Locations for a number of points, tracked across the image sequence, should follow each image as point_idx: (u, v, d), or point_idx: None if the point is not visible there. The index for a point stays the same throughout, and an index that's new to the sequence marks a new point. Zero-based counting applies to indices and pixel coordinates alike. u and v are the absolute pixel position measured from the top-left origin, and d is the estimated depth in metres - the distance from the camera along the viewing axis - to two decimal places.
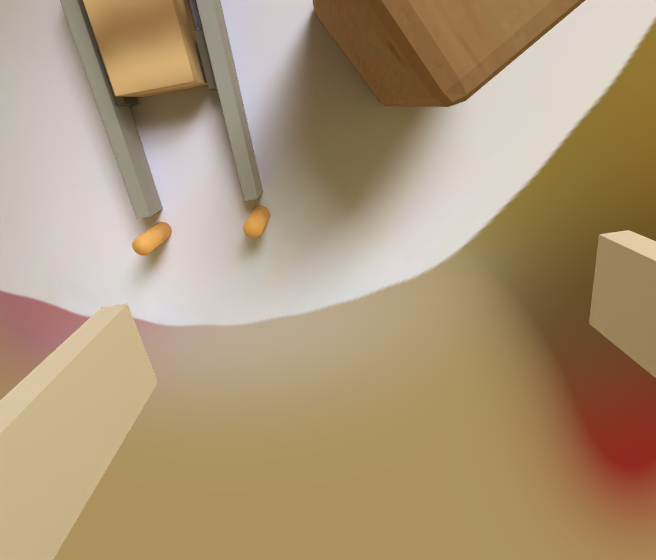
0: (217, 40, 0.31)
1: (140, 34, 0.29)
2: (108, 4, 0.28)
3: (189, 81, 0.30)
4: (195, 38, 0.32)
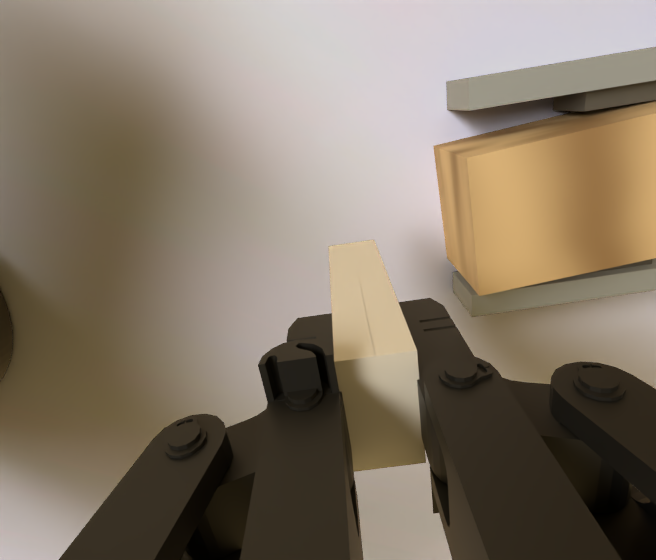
0: (620, 62, 0.16)
1: (611, 197, 0.16)
2: (558, 244, 0.17)
3: None
4: (565, 117, 0.19)
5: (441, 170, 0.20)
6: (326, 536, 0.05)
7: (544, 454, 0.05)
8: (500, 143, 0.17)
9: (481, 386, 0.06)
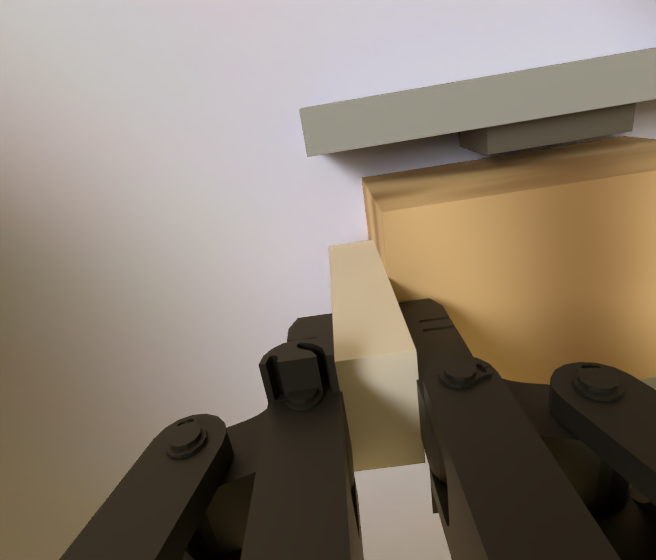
0: (531, 83, 0.10)
1: (605, 287, 0.11)
2: (521, 348, 0.11)
3: None
4: (547, 155, 0.13)
5: (368, 215, 0.14)
6: (326, 536, 0.05)
7: (543, 454, 0.05)
8: (443, 189, 0.11)
9: (481, 386, 0.06)
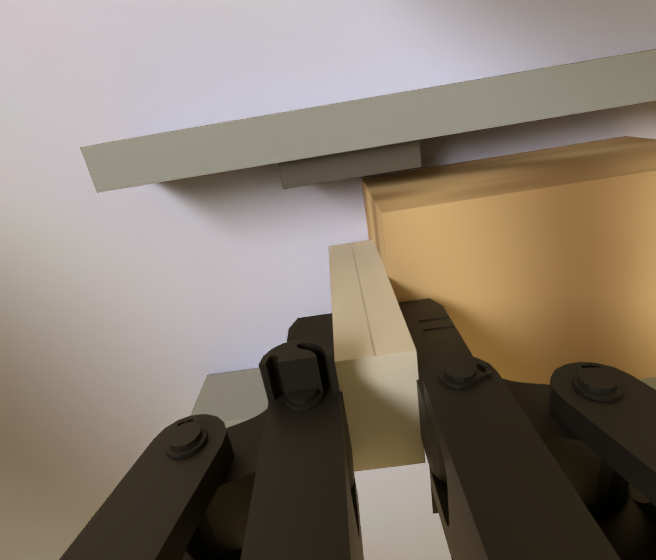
0: (304, 123, 0.11)
1: (605, 287, 0.11)
2: (521, 348, 0.11)
3: None
4: (547, 155, 0.13)
5: (368, 215, 0.14)
6: (326, 535, 0.05)
7: (543, 454, 0.05)
8: (442, 190, 0.11)
9: (481, 386, 0.06)
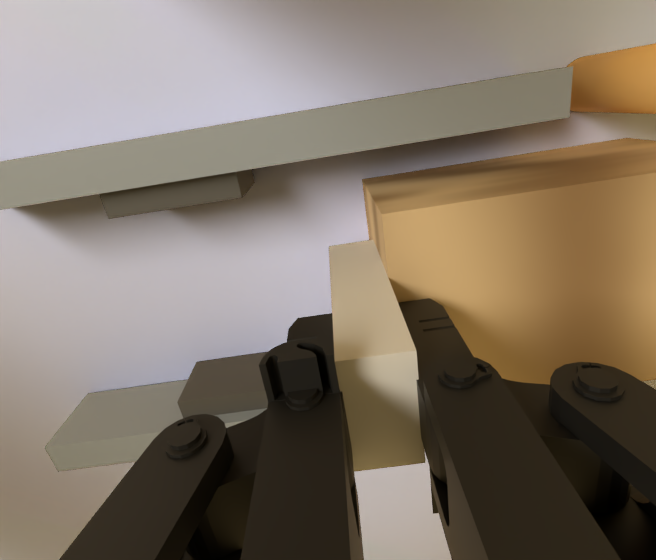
0: (111, 157, 0.11)
1: (606, 289, 0.11)
2: (522, 350, 0.11)
3: None
4: (548, 157, 0.13)
5: (368, 216, 0.14)
6: (327, 536, 0.05)
7: (544, 454, 0.05)
8: (443, 191, 0.11)
9: (481, 386, 0.06)
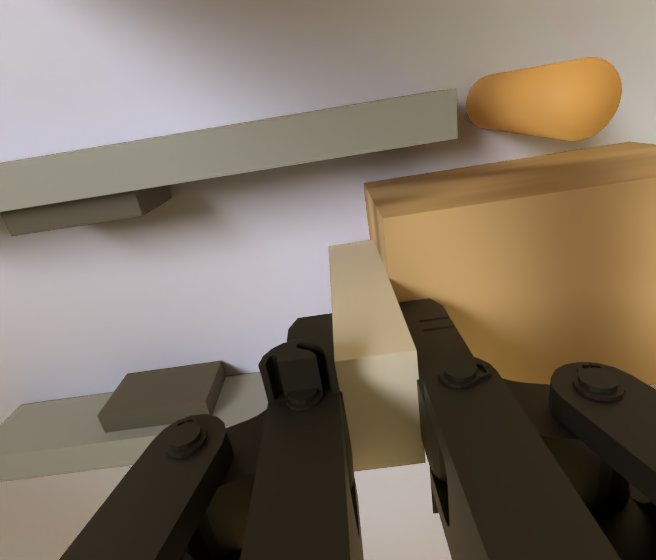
0: (4, 177, 0.11)
1: (607, 293, 0.11)
2: (522, 354, 0.11)
3: None
4: (549, 160, 0.13)
5: (369, 220, 0.14)
6: (326, 536, 0.05)
7: (543, 454, 0.05)
8: (444, 195, 0.11)
9: (481, 386, 0.06)
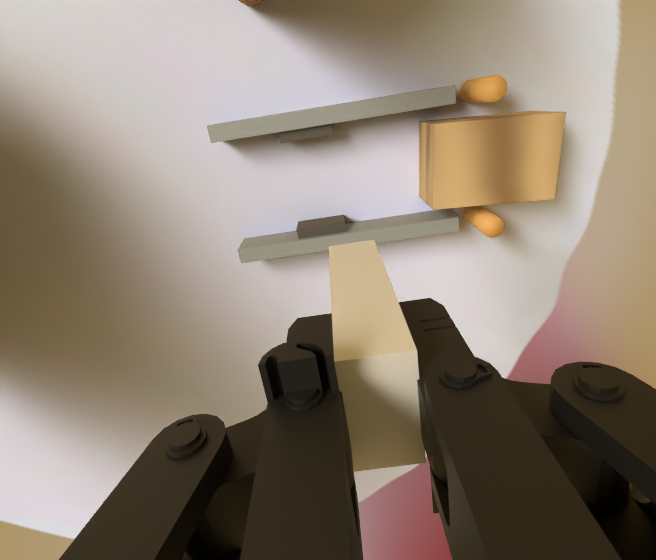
0: (288, 117, 0.30)
1: (511, 159, 0.29)
2: (480, 183, 0.30)
3: (563, 117, 0.28)
4: (497, 115, 0.32)
5: (421, 136, 0.32)
6: (326, 536, 0.05)
7: (544, 454, 0.05)
8: None
9: (481, 386, 0.06)
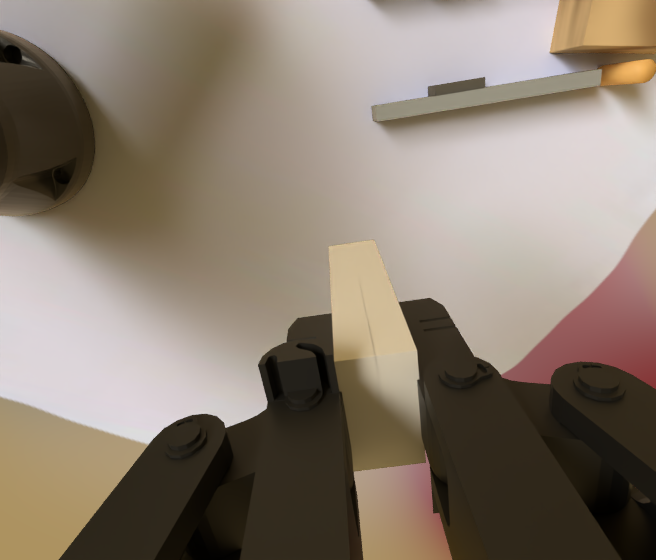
0: None
1: None
2: (635, 20, 0.30)
3: None
4: None
5: None
6: (326, 536, 0.05)
7: (544, 454, 0.05)
8: None
9: (481, 386, 0.06)
